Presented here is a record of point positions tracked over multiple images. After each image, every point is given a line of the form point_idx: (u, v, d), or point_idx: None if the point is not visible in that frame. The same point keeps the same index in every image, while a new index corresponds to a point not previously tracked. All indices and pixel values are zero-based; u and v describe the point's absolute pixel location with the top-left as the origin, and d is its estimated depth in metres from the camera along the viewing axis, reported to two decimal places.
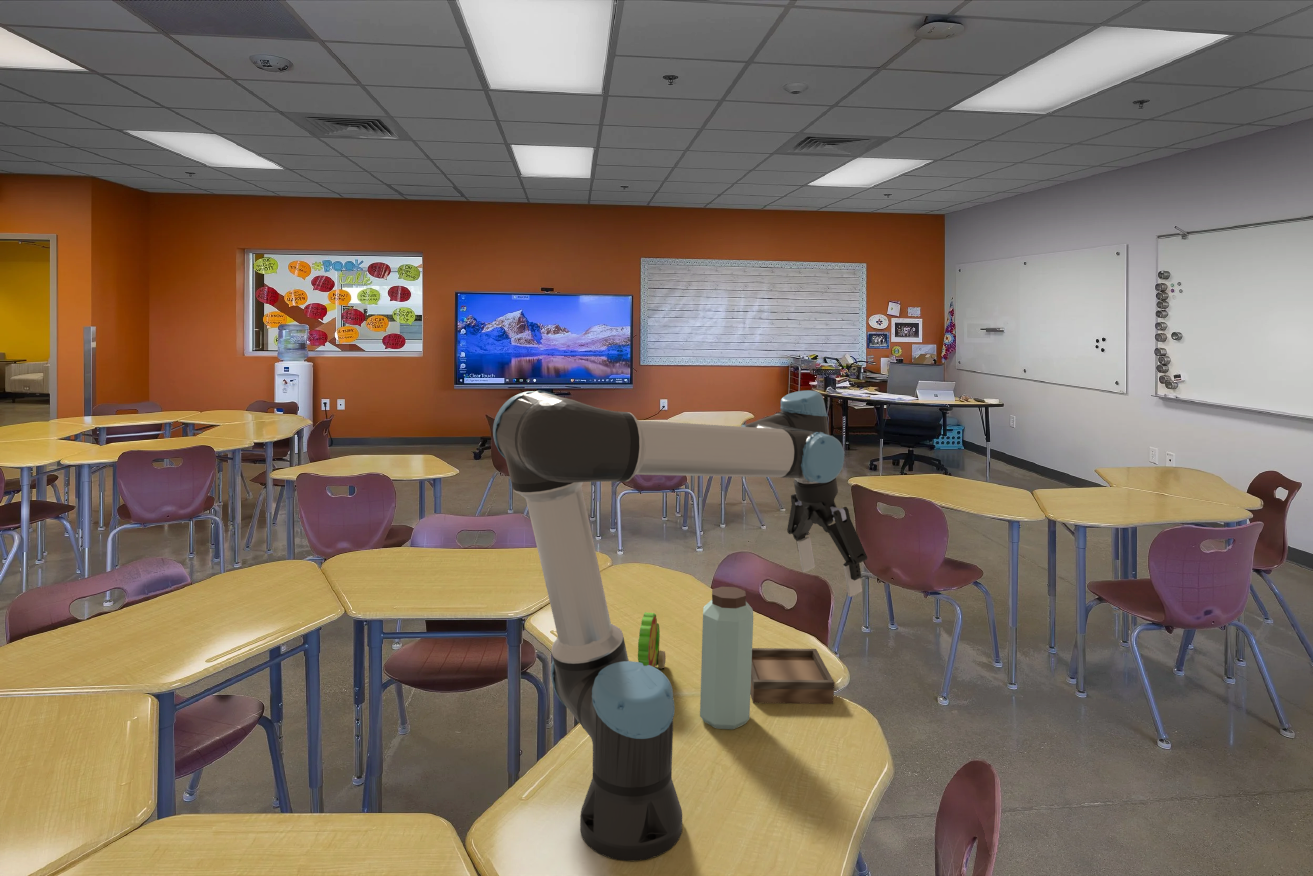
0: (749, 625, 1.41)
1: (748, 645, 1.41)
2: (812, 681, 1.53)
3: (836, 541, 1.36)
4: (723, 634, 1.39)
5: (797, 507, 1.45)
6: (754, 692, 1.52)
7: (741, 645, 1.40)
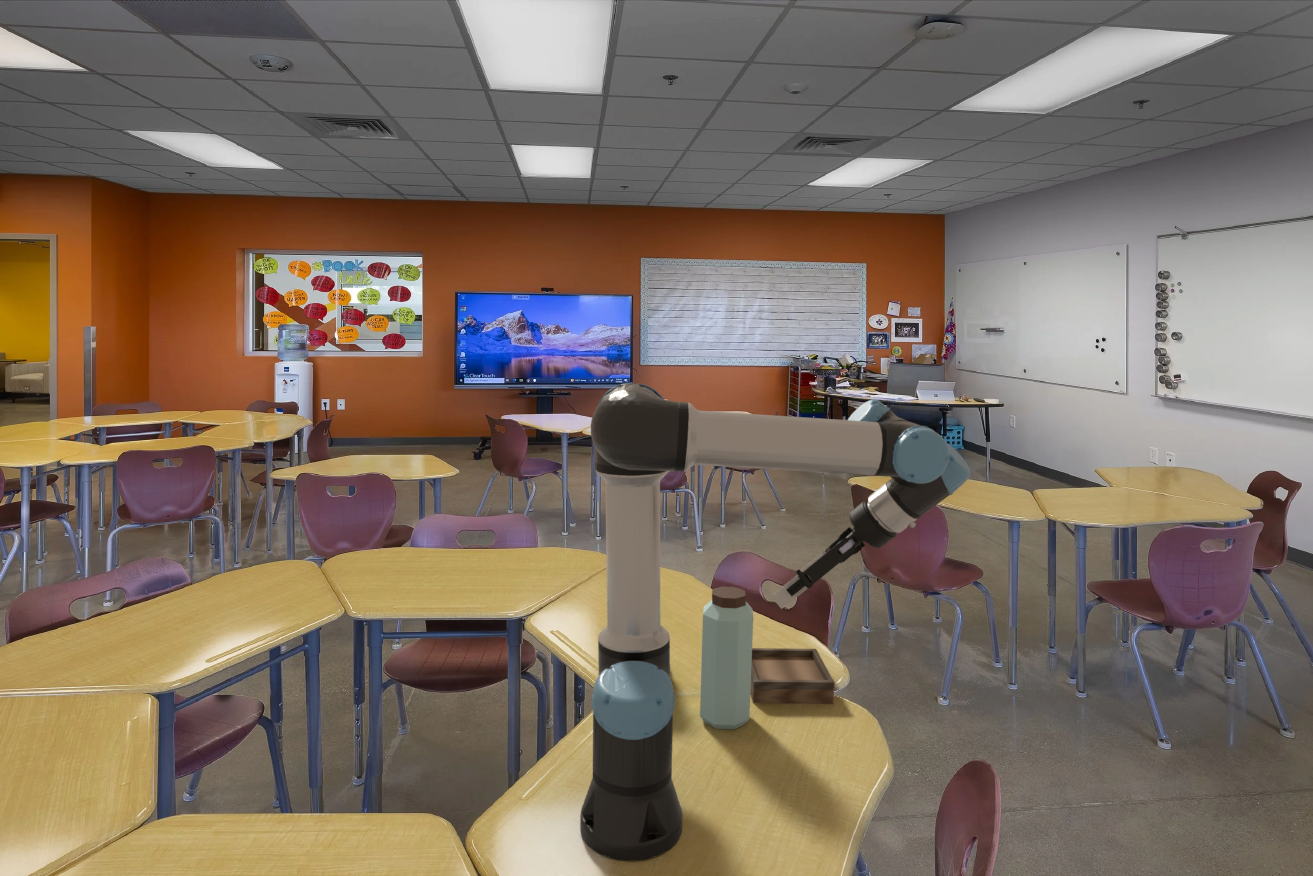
0: (749, 625, 1.41)
1: (748, 645, 1.41)
2: (812, 681, 1.53)
3: (819, 558, 1.25)
4: (723, 634, 1.39)
5: None
6: (754, 692, 1.52)
7: (741, 645, 1.40)
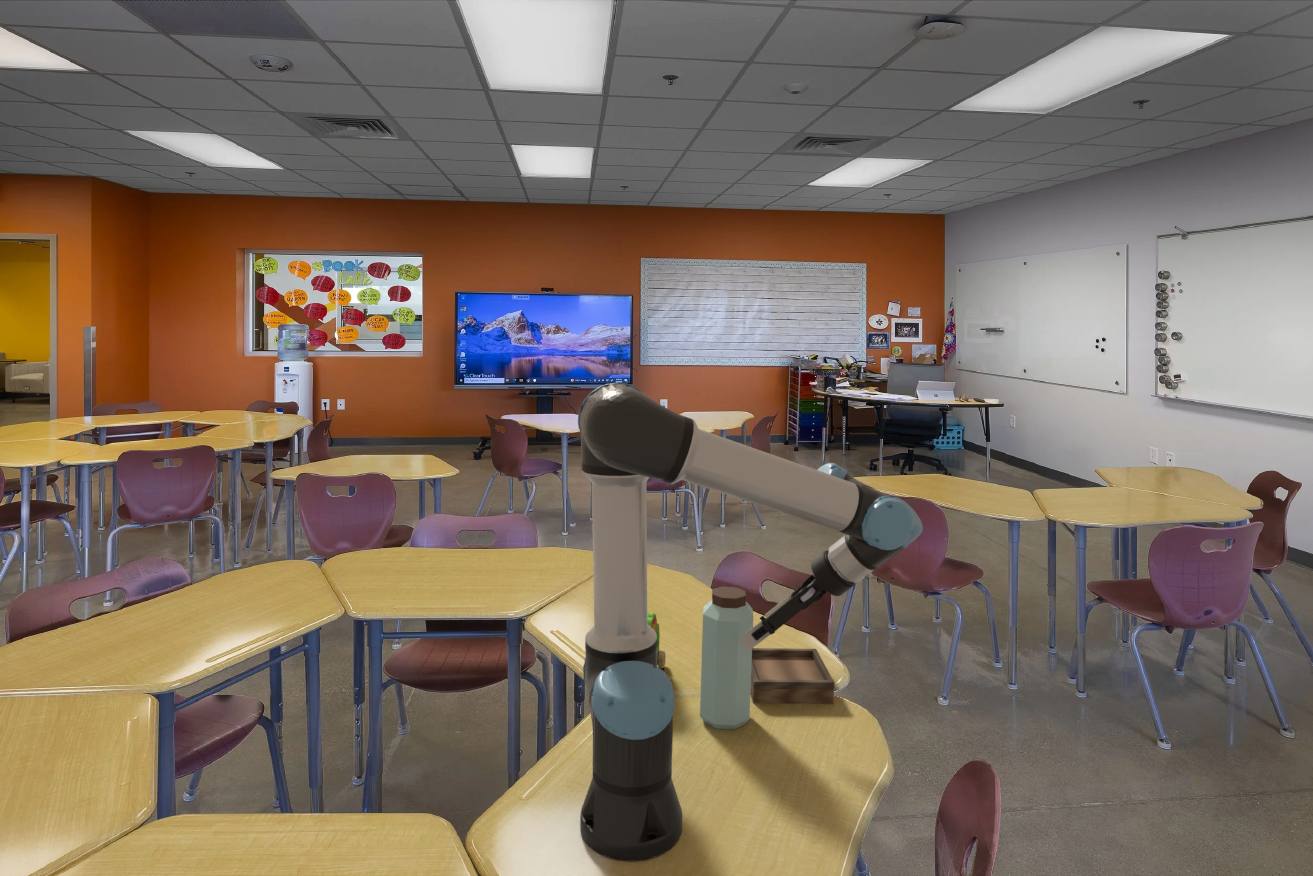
0: (749, 625, 1.41)
1: None
2: (812, 681, 1.53)
3: (782, 605, 1.33)
4: (723, 634, 1.39)
5: None
6: (754, 692, 1.52)
7: (741, 645, 1.40)
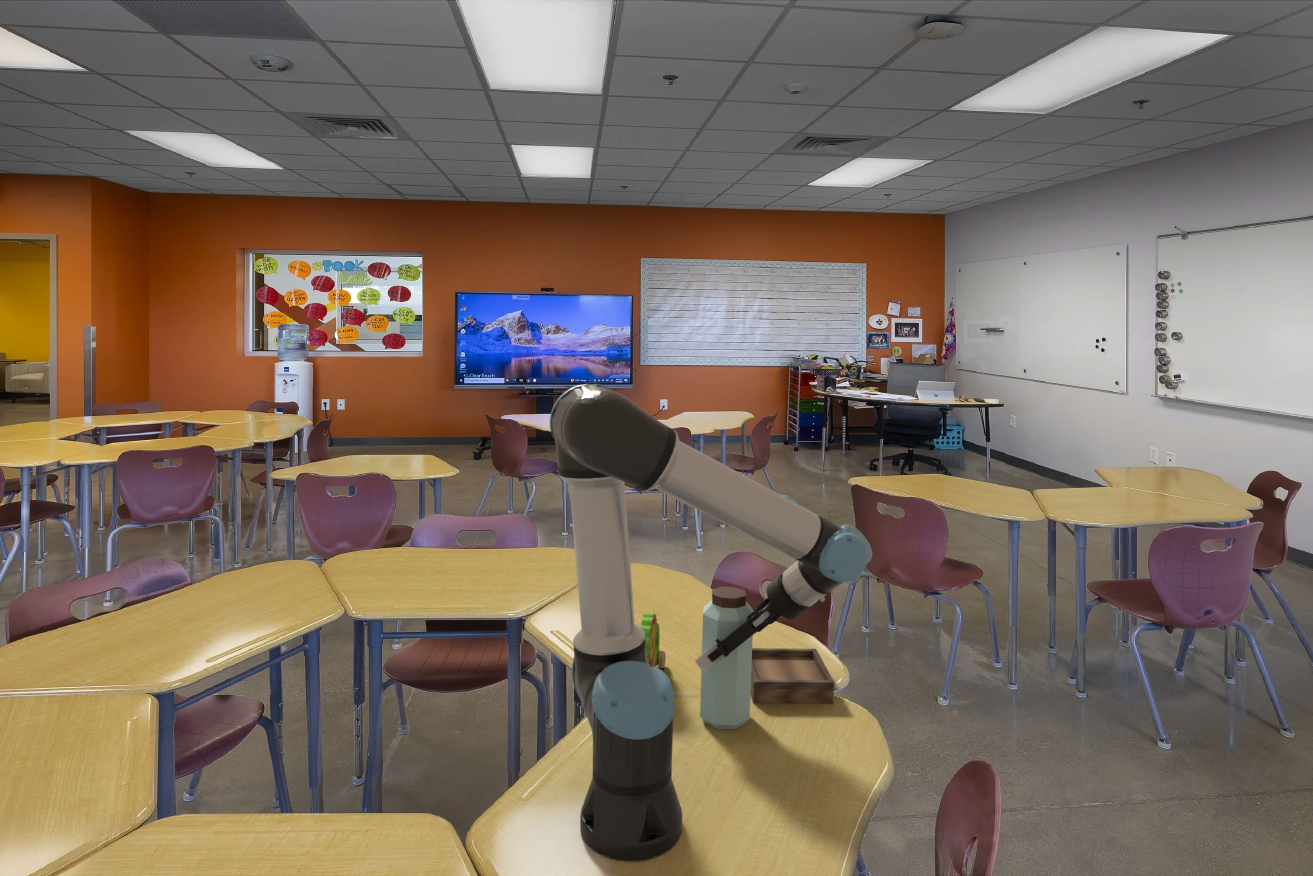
0: None
1: (748, 645, 1.41)
2: (812, 681, 1.53)
3: (737, 628, 1.38)
4: (723, 634, 1.39)
5: None
6: (754, 692, 1.52)
7: (741, 645, 1.40)
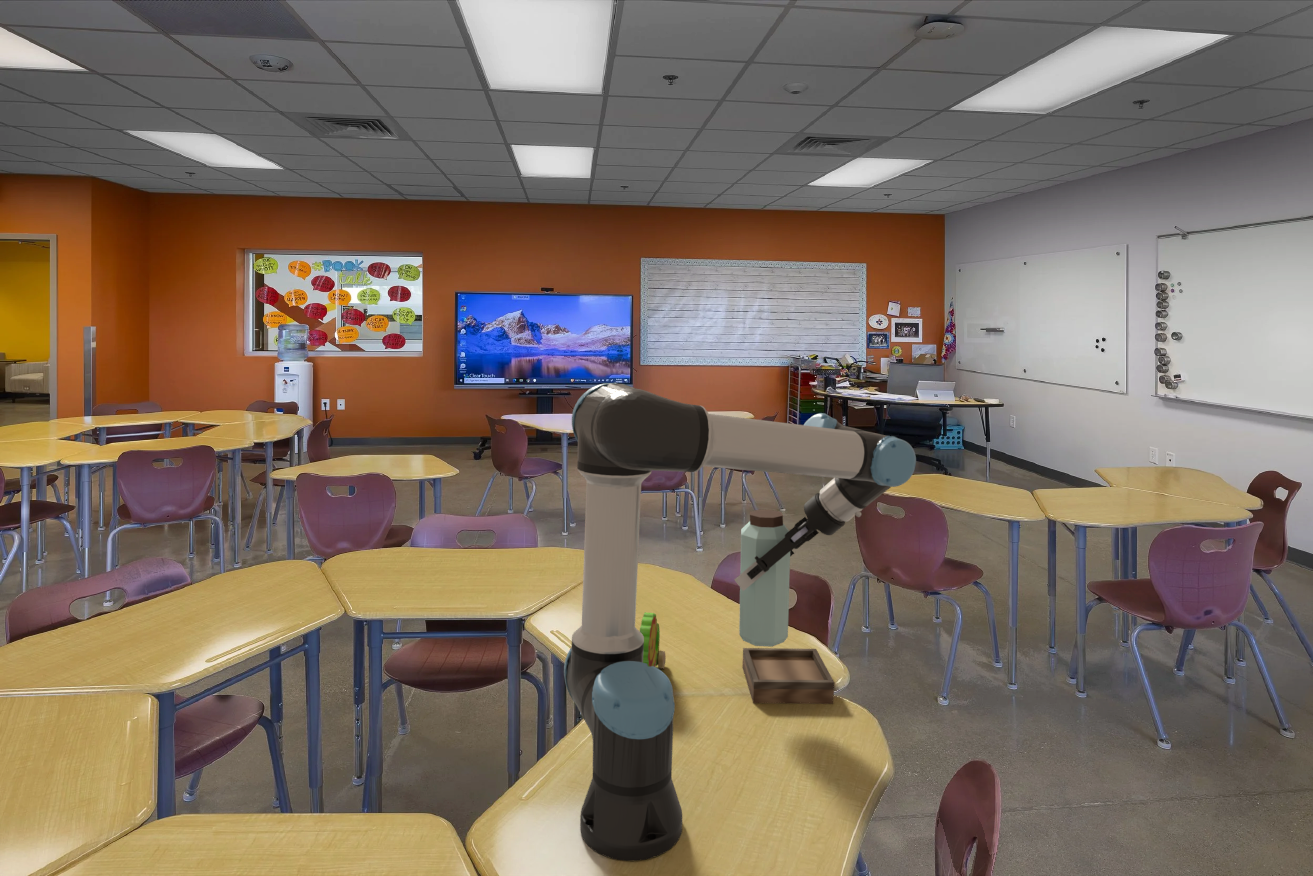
0: None
1: (786, 563, 1.45)
2: (812, 681, 1.53)
3: None
4: (761, 552, 1.43)
5: None
6: (754, 692, 1.52)
7: (779, 563, 1.44)
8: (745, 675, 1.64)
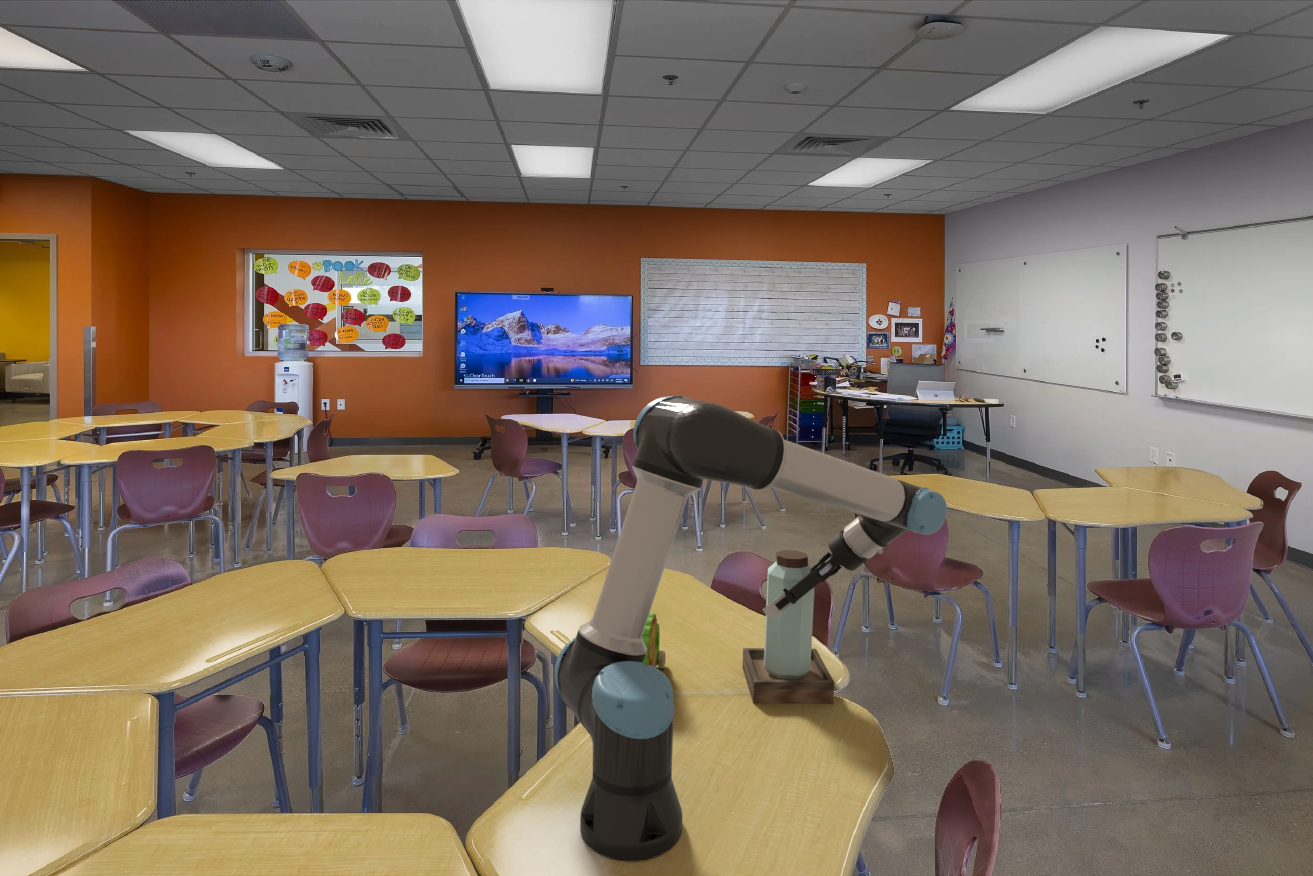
0: None
1: (810, 602, 1.55)
2: (812, 681, 1.53)
3: (803, 578, 1.51)
4: None
5: None
6: (754, 692, 1.52)
7: (804, 601, 1.54)
8: (745, 675, 1.64)
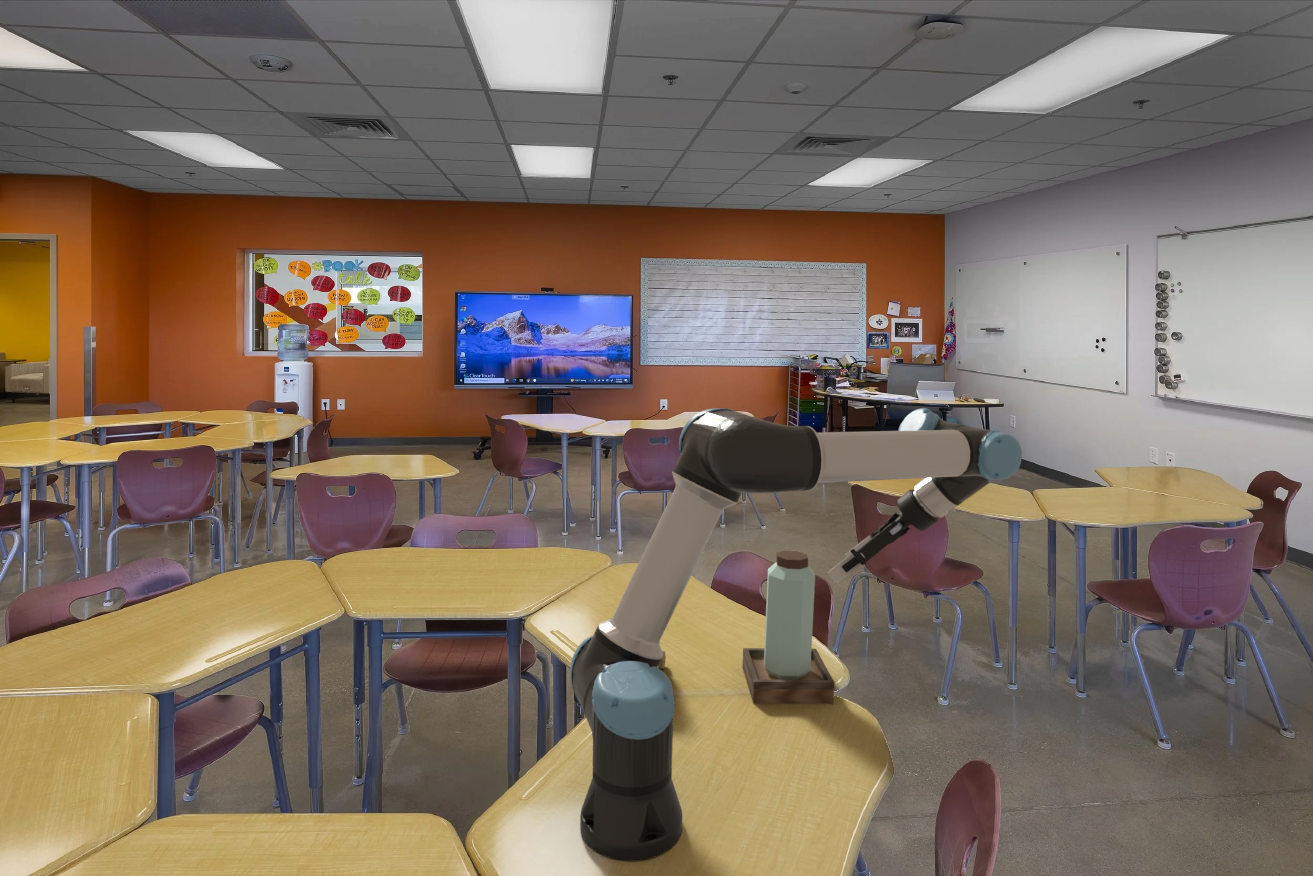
0: (811, 584, 1.55)
1: (810, 603, 1.55)
2: (812, 681, 1.53)
3: (871, 539, 1.43)
4: (788, 593, 1.53)
5: None
6: (754, 692, 1.52)
7: (804, 602, 1.54)
8: (745, 675, 1.64)
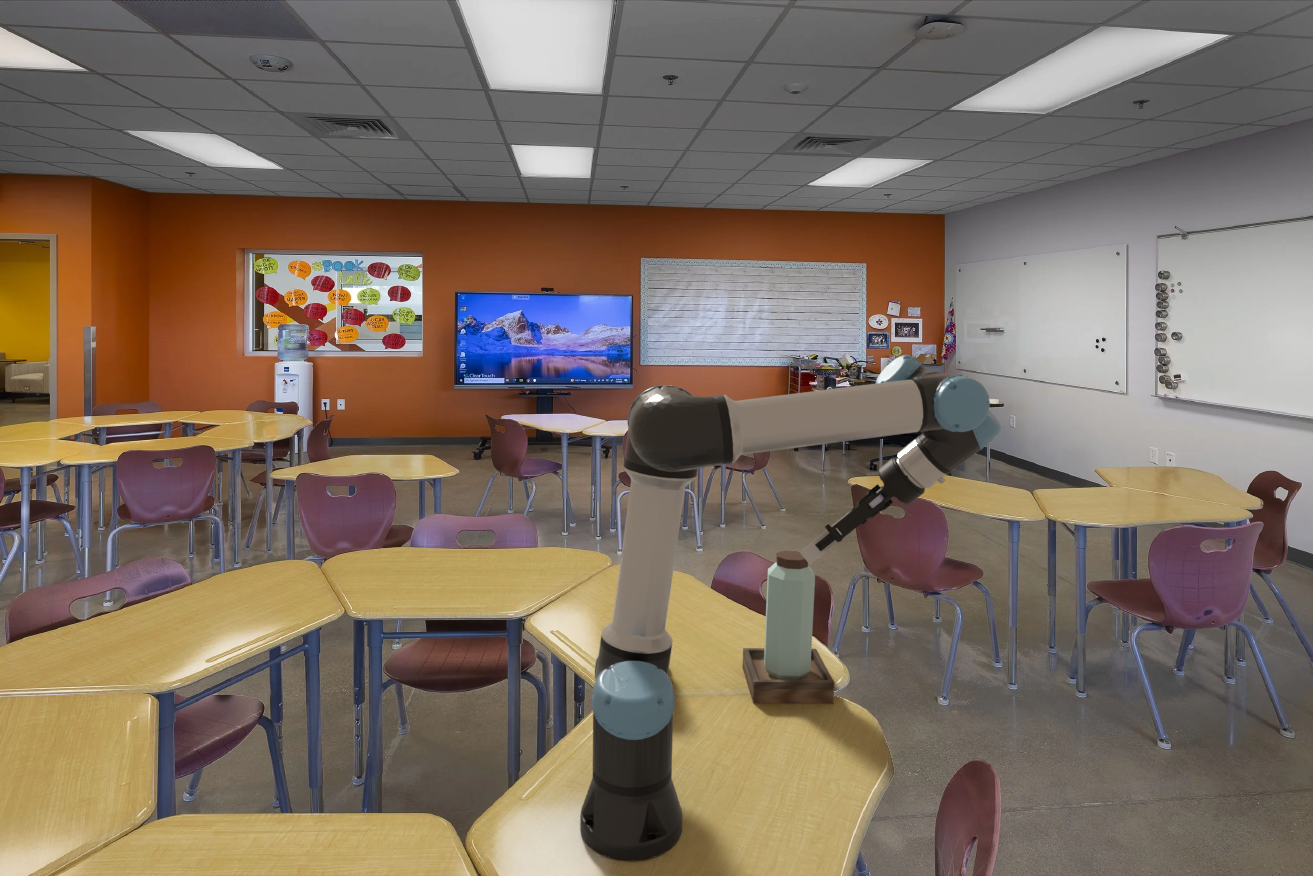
0: (811, 584, 1.55)
1: (810, 603, 1.55)
2: (812, 681, 1.53)
3: (848, 513, 1.26)
4: (788, 593, 1.53)
5: None
6: (754, 692, 1.52)
7: (804, 602, 1.54)
8: (745, 675, 1.64)
